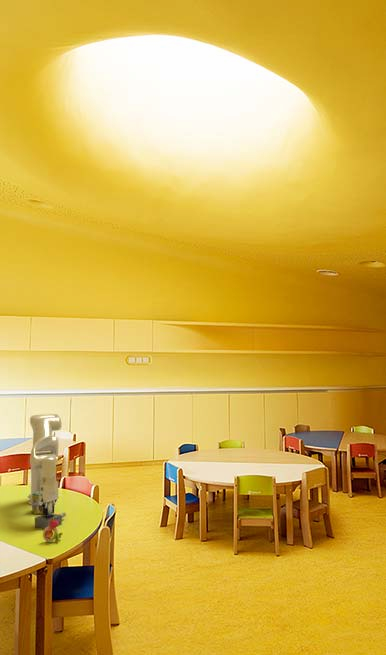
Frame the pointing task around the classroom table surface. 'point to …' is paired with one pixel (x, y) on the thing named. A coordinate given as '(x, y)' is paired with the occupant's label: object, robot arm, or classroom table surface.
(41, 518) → the chuck block
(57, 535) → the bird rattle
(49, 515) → the key peg
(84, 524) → the classroom table surface
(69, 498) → the classroom table surface
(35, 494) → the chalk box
